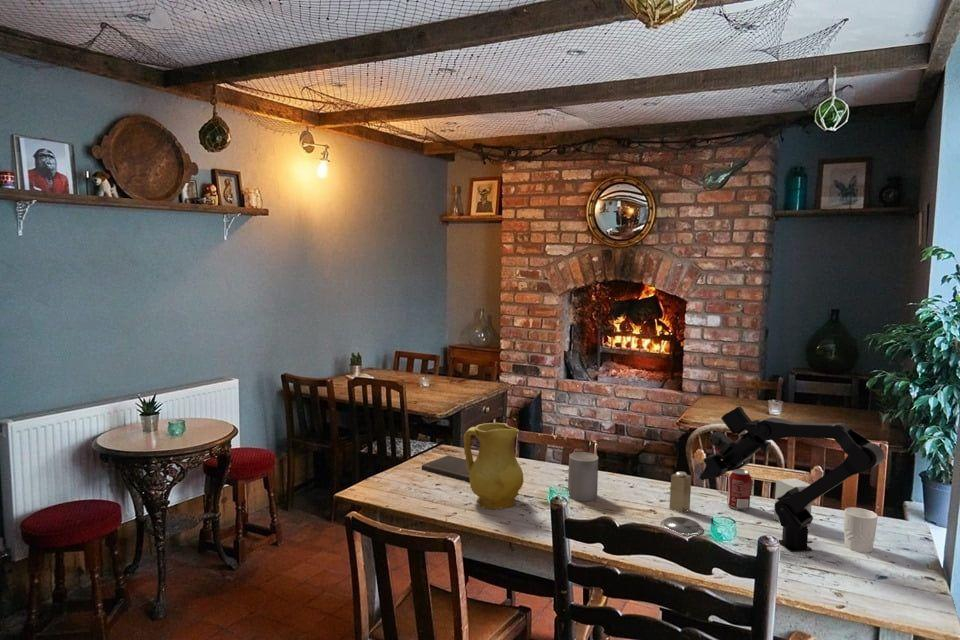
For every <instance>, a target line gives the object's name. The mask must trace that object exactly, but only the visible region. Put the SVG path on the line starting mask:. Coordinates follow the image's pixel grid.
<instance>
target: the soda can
mask: <svg viewBox="0 0 960 640" xmlns="http://www.w3.org/2000/svg"><path fill="white" fill-rule="evenodd" d="M727 479H728V480H727V481H728V482H727V496H726V497H727V498H726V499H727V500H726V505H727V506H729V507H730V508H731V507H732V508H731V509H733V508H734V509H733V510H736V509H738V510H737V511H745V509H746V510H747V509H749V508H750V507H751V506H750V504H751V489H752V476H751V474H750V470H747V469H744V468H739V469H736V470H732V471H729V474H728V478H727Z"/></svg>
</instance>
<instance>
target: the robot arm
mask: <svg viewBox="0 0 960 640" xmlns="http://www.w3.org/2000/svg"><path fill="white" fill-rule="evenodd" d="M720 419H721V421H722V422H723V424H724V425H725V426H726V428H728V430H729V431H730V433H731V434H732V435H737V436H740V437H739V438H738V439H737V440H735V441H734V440H733V439H732V438H731V437H729V436H728V435H726V434H725V433H723V432H722V431H720V430H719V431H714V432H712V433H711V435H710V436H708V443H709V444H711V445H712V446H713V447H715V448H717V449H718V453H719V454H720V455H721V456H722V459H721V457H720V456H719V454H716V453H715V454H714V453H711V454H710V455H709V454H708V455H707V456H706V457H705V458H703V462H704V465H705V467H704V469H703V471H702V472H701V474H700V475H699V480H701V481H705V480H709V479H716V478H720V477H721V476H723V475H725V474H727V473H728V472H731V471H732V470H736V469H739V468H740V469H743V467H746V466H747V465H749V464H750V462H751V460H750V459H751V458H752V457H753V455H755V454H756V453H757V452H758V451H759V450H761V451H762V452H763V453H764V454H766V453H768V452H771V451H772V446H771V445H772V442H771V441H774V440H779V439H780V440H781V439H785V438H806V439H807V438H808V439H824V440H825V439H826V440H828V439H830V440H834V441H835V442H836V443H837V444H838V445H839V446H840V448H841V450H843V452H844V453H845V454H846V455H847V456H846V457H845V458H844V460H843V461H842V462H841V463H840V464H839V465H838V466H836V467H835V468H833V469H832V470H830V471H828V472H827V473H826V474H824V475H823V476H821V477H820V478H818V479H817V480H815V481H814V482H811V484H810V485H809V486H808V487H806V488H805V489H803V490H801V491H799V490H798V488H797V487H795V488H793V489H791V490H789V491H787V492H786V493H785V494H784V495H782V496H780V497H778V498H777V500H779V501H777V502H776V503H775V502H774V507H775V512H776V514H777V515H778V517H779V520H780V522H779V523H780V526H781V527H782V537H781V538H782V539H778V540H779V542H780V543H779V545H781V546H783V547H784V548H785V549H787V550H788V551H790V552H811V551H813V548H811V547H810V546H809V545H808V538H809V528H808V526H807V525H808V524H810V525H811V523H812V521H813V520H814V516H813V515H812V513H811V514H810V513H809V511H808V510H807V508H808V507H809V506H810V505H811V503H812V504H813V502H814V501H815V500H817V499H818V498H820V497H821V496H823V495H824V494H826V493H828V492H829V491H831V490H832V489H834V488H835V487H837V486H838V485H840V484H841V483H843V482H844V481H847V480H848V479H849V478H850V477H852V476H856V475H858V474H860V473H863V472H866V471H869V470H871V469H873V468H875V467H876V466H877V465H880V464H881V463H882V462H884V459H885V453H884V449H882V447H880V445H879V444H876V443H873V442H871V441H870V440H869V439H868V438H866V437H865V436H863V435H862V434H860V433H858V432H857V431H855V430H854V429H853V428H851V427H850V426H849V425H848V424H846V423H844V422H837V423H829V422H828V423H827V422H798V421H797V422H796V421H795V422H794V421H790V420H787V419H784V418H779V417H773V416H772V417H767V418H764V419H755V420H752V419H751V418H750V417H749V415H748V414H747V413H746V412H745V410H744V409H743V408H742V407H741V406H736V407H735V408H734V409H732V410H730V411H729V412H727V413H725V414H723V416H721V418H720ZM811 506H812V505H811Z"/></svg>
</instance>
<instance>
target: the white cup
mask: <svg viewBox="0 0 960 640" xmlns="http://www.w3.org/2000/svg"><path fill="white" fill-rule="evenodd" d="M878 516H879V515H878V514H877V513H875V512H874V511H872V510H869V509H865V508H861V507H846V508H844V521H843V524H844V525H843V529H844V530H843V531H844V546H845V547H846V548H847V549H849V550H851V551H853V552H854V551H855V552H858V553H865V554H866V553H871V552H873V550H874V549H873V548H874V542H875V537H876V532H877V523H878Z"/></svg>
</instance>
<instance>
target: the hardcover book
mask: <svg viewBox="0 0 960 640" xmlns="http://www.w3.org/2000/svg"><path fill="white" fill-rule="evenodd" d="M421 470H422V471H425V472H430V473H432V474H433V473H434V474H437V475H439V476H440V475H441V476H443V477H447V478H451V479H455V480H458V481H462V482H466V483H470V479H469V472H468V470H467V462H466V458H461V457H457V456H453V455H449V454H448V455H445V456H443V457H439V458H437V459H435V460H432V461H429V462H426V463H423V464H422V465H421Z"/></svg>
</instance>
